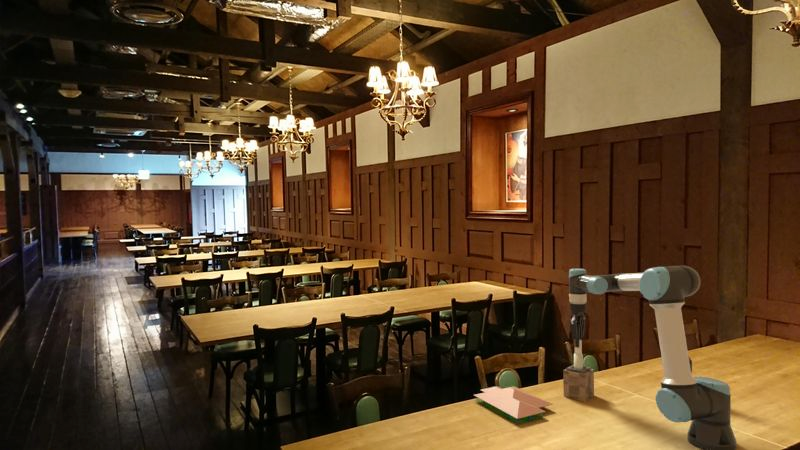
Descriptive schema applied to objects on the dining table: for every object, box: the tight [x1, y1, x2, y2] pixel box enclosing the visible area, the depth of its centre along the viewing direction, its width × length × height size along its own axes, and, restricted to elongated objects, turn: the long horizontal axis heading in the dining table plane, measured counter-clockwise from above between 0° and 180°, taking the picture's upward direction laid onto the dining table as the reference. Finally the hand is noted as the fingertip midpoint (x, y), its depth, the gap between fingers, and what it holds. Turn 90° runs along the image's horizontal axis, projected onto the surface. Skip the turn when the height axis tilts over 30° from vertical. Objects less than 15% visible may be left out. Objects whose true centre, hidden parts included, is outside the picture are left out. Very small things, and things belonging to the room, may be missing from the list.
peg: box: [573, 353, 584, 370], centre depth 233 cm, size 4×4×12 cm
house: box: [473, 385, 553, 425], centre depth 222 cm, size 23×33×8 cm
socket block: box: [562, 363, 595, 402], centre depth 233 cm, size 10×10×13 cm
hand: (578, 353), depth 233 cm, fingers closed
